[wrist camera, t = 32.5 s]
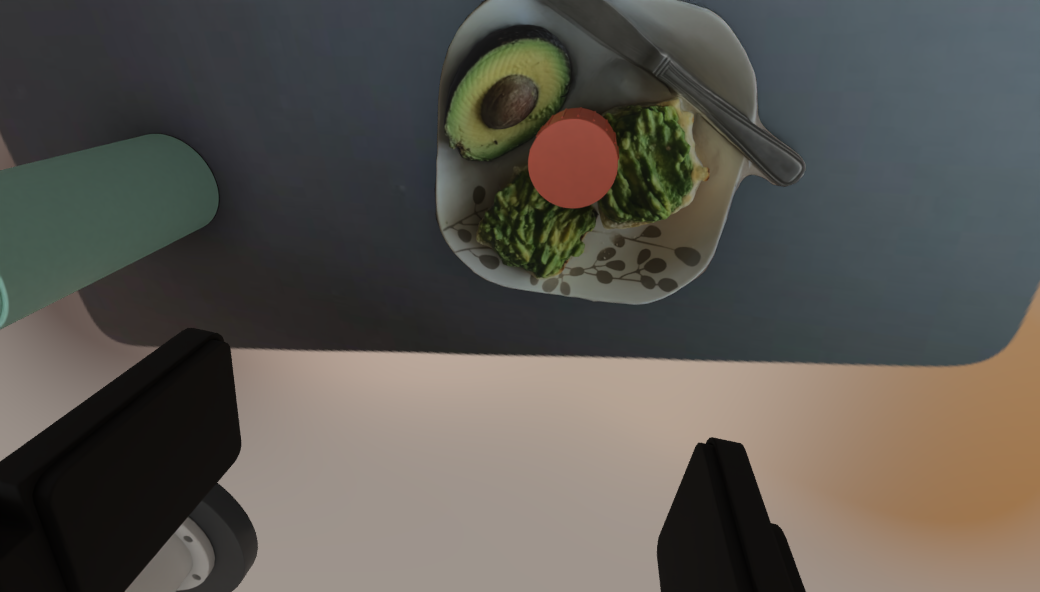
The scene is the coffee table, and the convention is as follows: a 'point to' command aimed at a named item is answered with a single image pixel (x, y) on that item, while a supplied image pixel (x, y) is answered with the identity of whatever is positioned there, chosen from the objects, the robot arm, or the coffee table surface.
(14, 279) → the bottle
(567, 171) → the cap
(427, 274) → the coffee table surface
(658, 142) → the salad plate
